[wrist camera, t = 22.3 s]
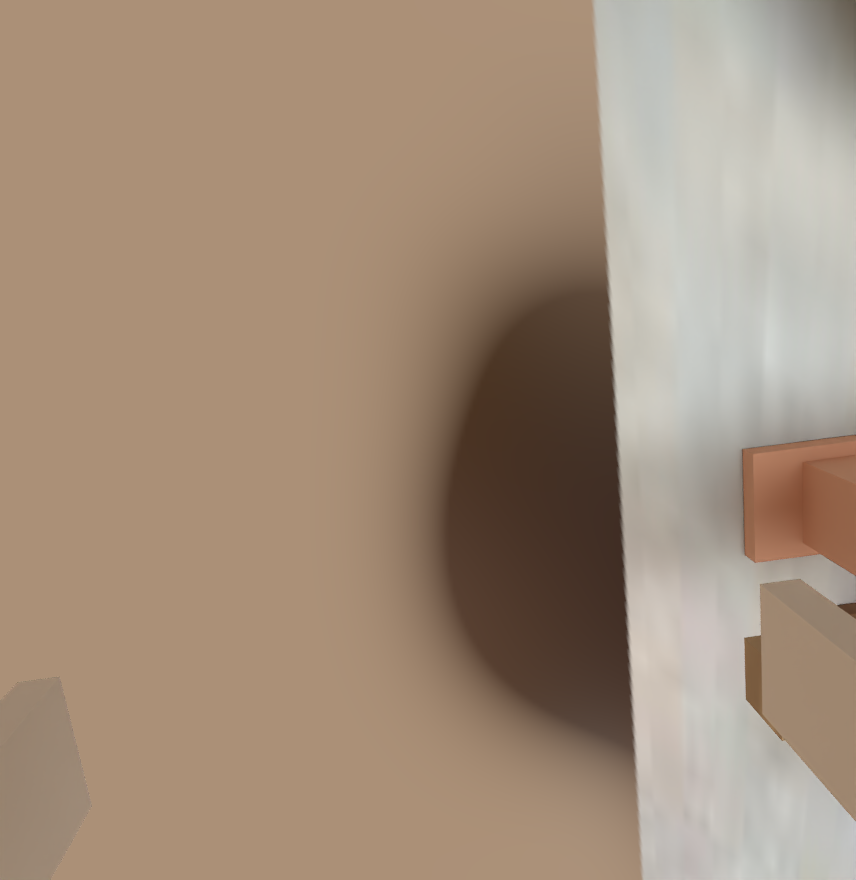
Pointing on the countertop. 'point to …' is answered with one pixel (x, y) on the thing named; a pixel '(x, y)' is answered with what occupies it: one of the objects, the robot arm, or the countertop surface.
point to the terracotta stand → (801, 501)
